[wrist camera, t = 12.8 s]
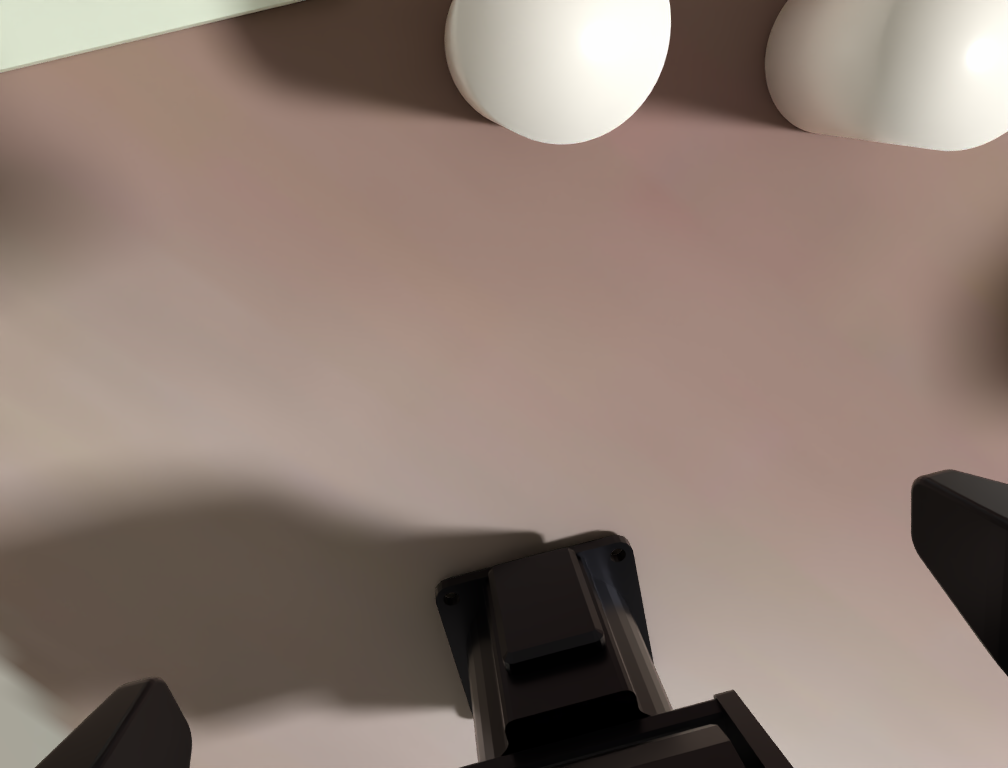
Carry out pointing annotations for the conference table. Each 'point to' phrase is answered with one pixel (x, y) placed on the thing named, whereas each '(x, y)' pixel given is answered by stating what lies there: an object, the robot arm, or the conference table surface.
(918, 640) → the conference table surface
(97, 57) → the conference table surface
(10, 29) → the sage mat
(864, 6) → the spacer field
